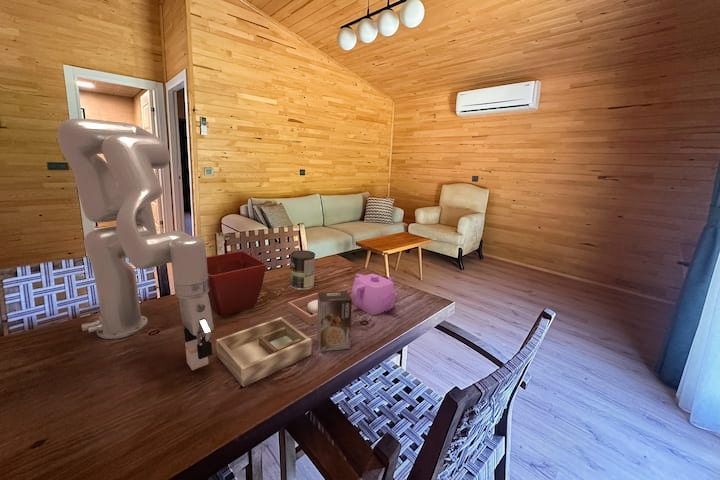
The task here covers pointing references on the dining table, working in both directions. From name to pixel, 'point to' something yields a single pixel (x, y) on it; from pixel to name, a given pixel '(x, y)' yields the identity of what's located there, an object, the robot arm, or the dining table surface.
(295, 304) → the garlic dish
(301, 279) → the coffee can
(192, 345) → the small white lidded box
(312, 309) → the garlic
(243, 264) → the plant pot
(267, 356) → the walled box
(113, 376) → the dining table surface
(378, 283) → the teakettle
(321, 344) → the coffee box
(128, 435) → the dining table surface
